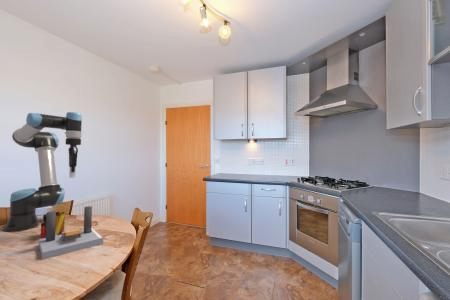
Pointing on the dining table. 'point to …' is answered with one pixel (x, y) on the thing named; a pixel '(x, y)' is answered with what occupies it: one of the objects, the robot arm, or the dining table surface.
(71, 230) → the paddle
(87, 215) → the post
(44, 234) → the mug
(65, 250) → the panel
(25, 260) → the dining table surface
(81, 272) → the dining table surface
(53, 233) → the cylinder
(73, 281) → the dining table surface
